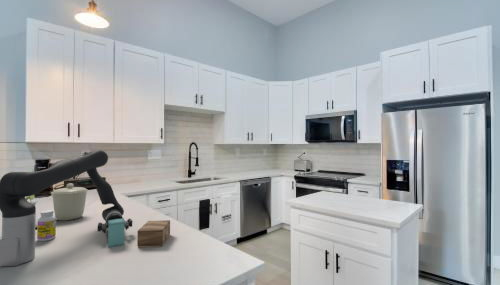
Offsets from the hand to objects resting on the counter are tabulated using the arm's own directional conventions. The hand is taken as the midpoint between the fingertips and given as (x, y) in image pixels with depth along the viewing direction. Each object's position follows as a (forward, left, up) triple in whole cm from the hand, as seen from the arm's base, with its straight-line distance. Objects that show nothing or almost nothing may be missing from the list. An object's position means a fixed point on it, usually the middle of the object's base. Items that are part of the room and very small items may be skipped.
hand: (116, 229), depth 110 cm
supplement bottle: (+8, +34, -6) cm, 36 cm away
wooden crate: (+1, -17, -6) cm, 18 cm away
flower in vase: (+25, +54, -6) cm, 60 cm away
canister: (+43, +45, -6) cm, 63 cm away
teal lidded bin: (-1, -1, -6) cm, 6 cm away
